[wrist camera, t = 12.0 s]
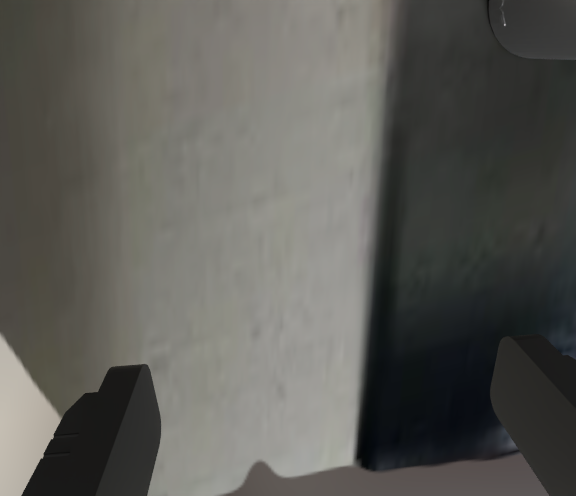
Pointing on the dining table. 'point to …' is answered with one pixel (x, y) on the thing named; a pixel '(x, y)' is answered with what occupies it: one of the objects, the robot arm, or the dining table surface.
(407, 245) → the dining table surface
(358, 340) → the dining table surface
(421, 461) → the dining table surface
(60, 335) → the dining table surface
